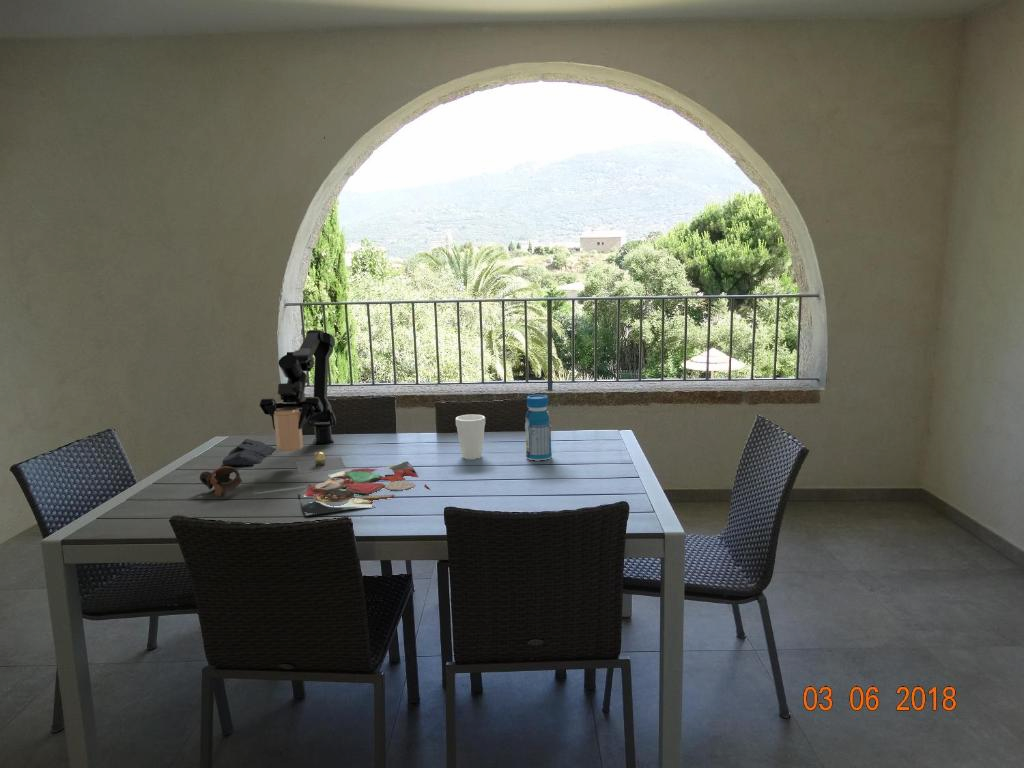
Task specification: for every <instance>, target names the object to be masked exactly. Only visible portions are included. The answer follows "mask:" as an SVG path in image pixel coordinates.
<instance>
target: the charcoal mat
mask: <svg viewBox="0 0 1024 768" xmlns="http://www.w3.org/2000/svg"><path fill="white" fill-rule="evenodd" d="M341 457H342V456H336V457H335V456H334V457H329V458H327V457H326V458H325V465H324V466H316V464H315V459H312V460H311V459H310V460H303V461H301V460H300V461H296V468H297V471H298V474H306V473H307V474H309V473H316V472H325V471H331V470H332V471H334V470H341V469H346V466H345V464H344V462H343V461H344V460H343V459H342V458H341Z"/></svg>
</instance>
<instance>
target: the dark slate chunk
mask: <svg viewBox="0 0 1024 768" xmlns="http://www.w3.org/2000/svg"><path fill="white" fill-rule="evenodd" d="M275 450H276V451H277V447H273V446H269V445H268V444H265V442H262V441H259V440H254V439H249V438H246V439H244V441H242V442H241V443H240V444H239V445H237V446H236V447H234V448H233V449H231V450H230V451H229V452H228V455H226V456H225V457H224V459H223V460H222V461H221V462H222V464H223V465H224V466H229V465H230V466H229V467H233V466H235V465H236V466H240V465H241V466H242V467H243V466H244V467H247V465H248V466H249V467H250V466H251V467H254V466H255V465H259V464H261V463H262V462H263V461H264V460H265V459H266V458H268V457H270V456H273V455H272V453H273V452H274V451H275Z"/></svg>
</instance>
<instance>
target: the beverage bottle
mask: <svg viewBox="0 0 1024 768" xmlns="http://www.w3.org/2000/svg"><path fill="white" fill-rule="evenodd" d="M526 407H527V408H528V410H527V411H526V412H525V413H526V414H525V417H524V419H525V424H524V430H525V449H526V450H525V455H526V456H525V457H526V459H527V460H529V461H532V460H535V461H534V462H541V461H540V460H545V461H548V460H550V459H552V456H553V455H552V454H553V453H552V426H553V425H552V423H551V419H552V416H551V414H550V412H549V410H548V409H547V408H548V407H549V397H548V395H547V394H530V395H528V396H526ZM547 459H548V460H547Z"/></svg>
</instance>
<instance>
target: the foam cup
mask: <svg viewBox="0 0 1024 768" xmlns="http://www.w3.org/2000/svg"><path fill="white" fill-rule="evenodd" d="M485 425H486V416H484V415H483V414H462V415H459V416H456V417H455V426H456V430H457V435H458V441H459V448H460V452H461V456H462V457H463V459H464V458H465V459H464V460H477V459H476V458H478V459H481V458H482V457H481V456H483V449H484V448H483V446H484V437H485V435H484V434H485ZM462 457H461V458H462ZM480 457H481V458H480Z"/></svg>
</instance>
